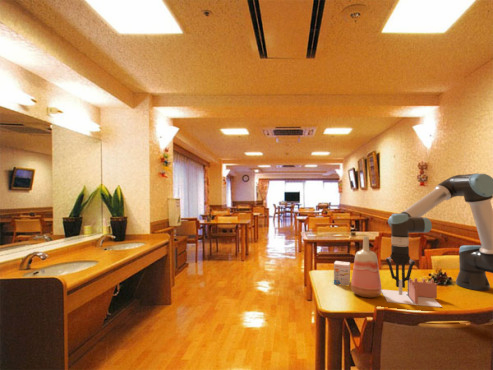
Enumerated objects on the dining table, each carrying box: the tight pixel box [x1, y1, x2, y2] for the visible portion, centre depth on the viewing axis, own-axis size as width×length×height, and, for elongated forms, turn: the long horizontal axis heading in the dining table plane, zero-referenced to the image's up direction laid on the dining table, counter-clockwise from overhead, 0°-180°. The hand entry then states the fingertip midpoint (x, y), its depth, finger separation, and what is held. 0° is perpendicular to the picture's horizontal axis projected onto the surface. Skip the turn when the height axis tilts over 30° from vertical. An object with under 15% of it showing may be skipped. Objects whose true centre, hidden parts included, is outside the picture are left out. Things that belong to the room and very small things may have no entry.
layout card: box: [381, 289, 443, 308], centre depth 143 cm, size 23×18×1 cm
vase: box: [350, 235, 382, 299], centre depth 148 cm, size 14×14×30 cm
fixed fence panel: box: [407, 277, 438, 299], centre depth 145 cm, size 13×1×9 cm, turn 74°
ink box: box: [333, 260, 351, 286], centre depth 167 cm, size 9×8×12 cm
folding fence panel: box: [409, 278, 418, 304], centre depth 140 cm, size 11×1×9 cm, turn 165°
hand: (400, 293), depth 140 cm, fingers closed
